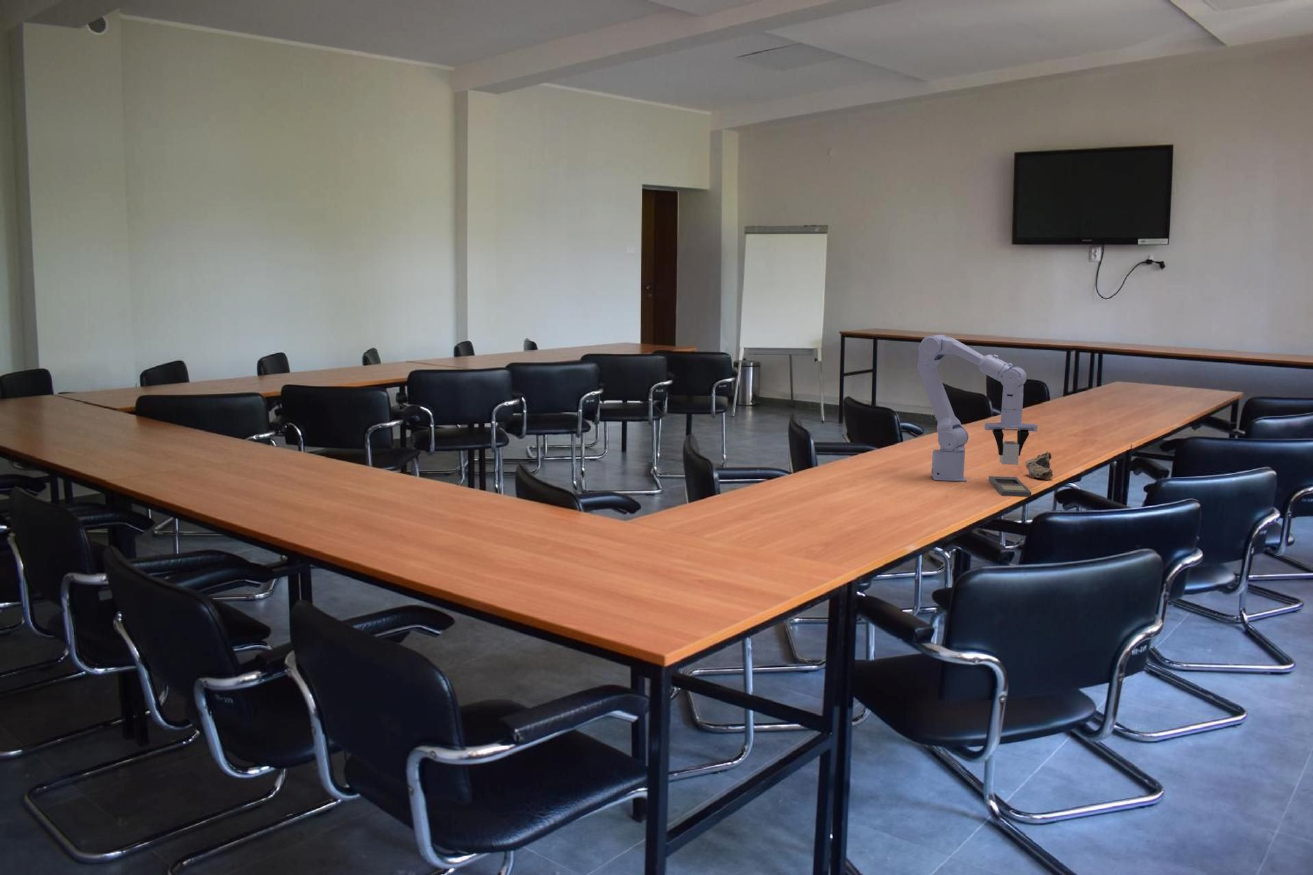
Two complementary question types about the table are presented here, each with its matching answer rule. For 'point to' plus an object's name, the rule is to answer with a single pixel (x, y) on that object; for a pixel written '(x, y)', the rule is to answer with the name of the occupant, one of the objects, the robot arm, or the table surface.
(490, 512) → the table surface
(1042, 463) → the rock
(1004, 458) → the grey upright block
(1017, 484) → the rail plate
